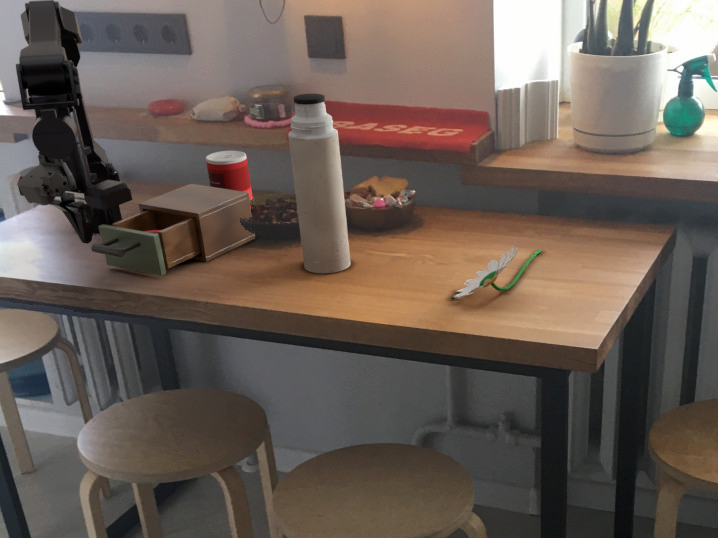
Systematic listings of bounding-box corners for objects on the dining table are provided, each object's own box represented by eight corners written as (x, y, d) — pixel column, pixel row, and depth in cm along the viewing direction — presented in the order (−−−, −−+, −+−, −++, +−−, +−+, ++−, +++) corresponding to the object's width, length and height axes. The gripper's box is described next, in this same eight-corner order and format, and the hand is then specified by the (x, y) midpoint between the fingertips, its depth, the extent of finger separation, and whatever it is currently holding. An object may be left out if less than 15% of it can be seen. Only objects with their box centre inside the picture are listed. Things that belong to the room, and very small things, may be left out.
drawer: (139, 286, 166) (130, 245, 162) (84, 274, 171) (74, 235, 167) (211, 252, 179) (204, 214, 175) (157, 242, 184) (150, 205, 180)
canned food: (259, 206, 205) (251, 150, 199) (247, 218, 198) (238, 161, 192) (222, 205, 205) (213, 150, 199) (209, 217, 199) (199, 160, 193)
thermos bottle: (317, 255, 180) (298, 88, 164) (358, 260, 177) (342, 91, 162) (296, 270, 173) (274, 99, 158) (337, 275, 171) (319, 101, 156)
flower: (562, 219, 176) (498, 255, 151) (576, 247, 177) (515, 288, 152) (501, 253, 182) (430, 293, 157) (515, 280, 183) (448, 324, 158)
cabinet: (206, 261, 178) (198, 213, 173) (148, 250, 183) (138, 203, 178) (255, 238, 188) (248, 192, 183) (198, 228, 193) (190, 183, 188)
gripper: (-24, 148, 151) (5, 249, 160) (66, 162, 144) (91, 267, 152) (35, 131, 159) (59, 229, 168) (123, 144, 152) (144, 245, 161)
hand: (86, 242), depth 162 cm, fingers closed
